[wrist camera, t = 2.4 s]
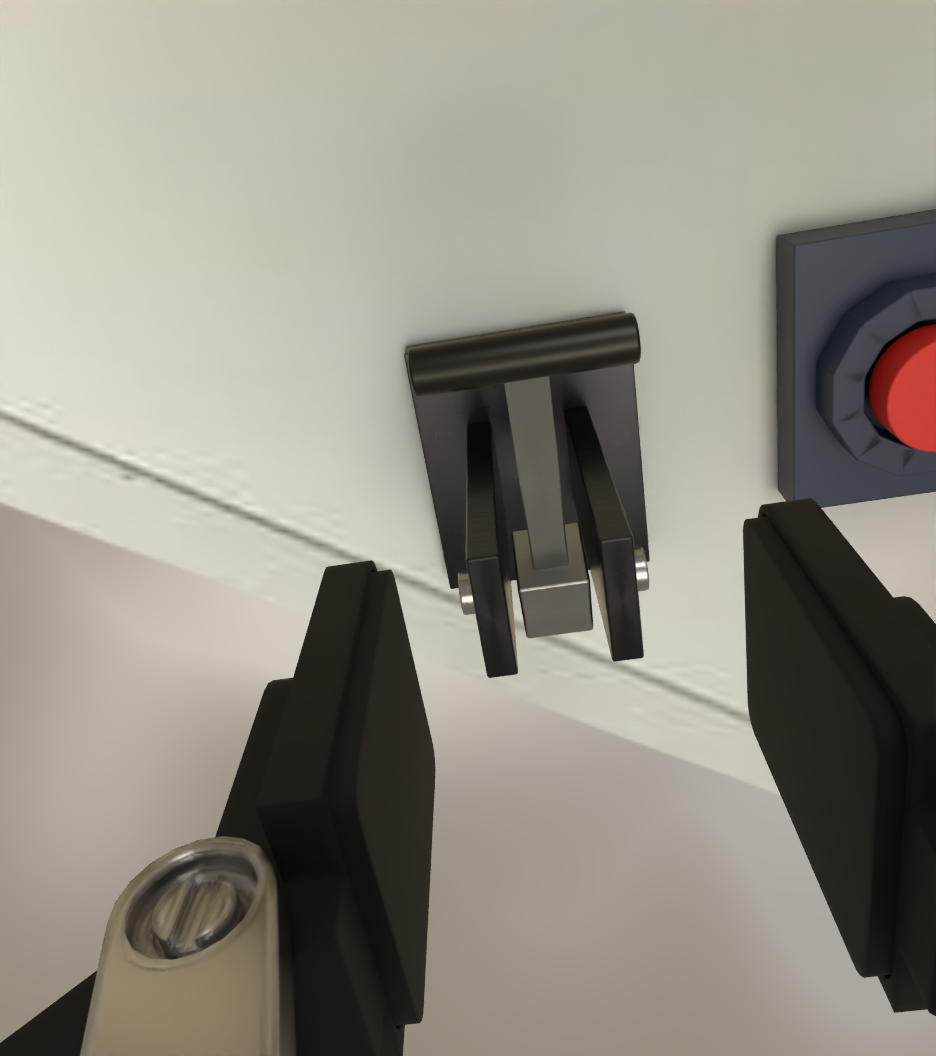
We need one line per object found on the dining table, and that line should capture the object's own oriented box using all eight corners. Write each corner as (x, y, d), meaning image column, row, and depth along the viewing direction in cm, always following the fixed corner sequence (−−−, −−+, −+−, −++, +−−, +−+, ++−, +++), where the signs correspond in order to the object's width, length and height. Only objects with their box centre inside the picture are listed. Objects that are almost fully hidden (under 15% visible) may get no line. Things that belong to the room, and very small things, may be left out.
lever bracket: (405, 346, 37) (376, 468, 25) (625, 311, 36) (696, 420, 25) (450, 576, 42) (443, 765, 30) (645, 549, 41) (712, 732, 30)
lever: (406, 323, 22) (407, 387, 21) (627, 287, 22) (646, 350, 20) (472, 587, 31) (477, 646, 30) (631, 565, 31) (644, 623, 29)
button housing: (775, 235, 35) (810, 253, 31) (1015, 195, 34) (1079, 210, 31) (777, 490, 40) (808, 531, 36) (987, 460, 39) (1039, 499, 35)
